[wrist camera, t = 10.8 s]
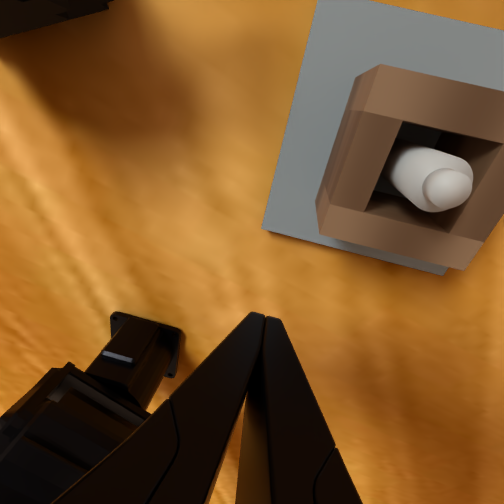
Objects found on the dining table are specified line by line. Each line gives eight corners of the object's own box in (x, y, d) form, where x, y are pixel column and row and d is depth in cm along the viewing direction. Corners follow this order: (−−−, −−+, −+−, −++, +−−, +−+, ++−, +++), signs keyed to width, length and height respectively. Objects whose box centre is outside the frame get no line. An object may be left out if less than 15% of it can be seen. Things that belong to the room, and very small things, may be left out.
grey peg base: (436, 267, 19) (513, 361, 12) (263, 223, 19) (241, 287, 12) (572, 54, 13) (878, -6, 6) (319, -3, 13) (336, -118, 7)
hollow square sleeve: (314, 201, 17) (319, 234, 12) (355, 77, 14) (380, 63, 9) (421, 227, 17) (463, 271, 12) (487, 107, 13) (577, 107, 9)
